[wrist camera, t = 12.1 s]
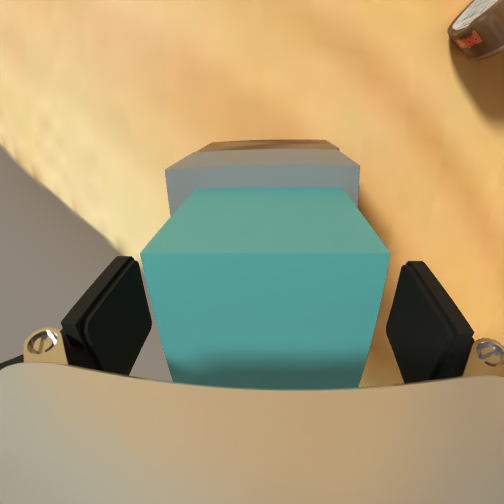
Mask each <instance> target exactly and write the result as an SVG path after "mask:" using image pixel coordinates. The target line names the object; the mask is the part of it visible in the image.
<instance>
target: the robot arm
mask: <svg viewBox="0 0 504 504" xmlns="http://www.w3.org/2000/svg"><path fill="white" fill-rule="evenodd" d="M61 324H62V327H63V329H62V330H61V331H58V330H57V329H55V328H43V329H40V330H38V331H35V332H34V333H33V334H31V335H30V336H29V337H28V338H27V339H26V341H25V343H24V347H23V353H24V354H23V355H20V356H18V357H15V358H13V359H11V360H8V361H5V362H3V363H1V364H0V504H504V346H502V345H501V344H500V343H499V342H497V341H495V340H492V339H489V338H481V339H478V340H476V341H474V339H473V338H472V336H473V334H474V331H473V330H472V328H471V327H470V325H469V324H468V322H467V321H466V319H465V318H464V316H463V315H462V313H461V312H460V310H459V309H458V307H457V306H456V305H455V303H454V302H453V300H452V299H451V298H450V296H449V295H448V293H447V292H446V291H445V289H444V288H443V287H442V285H441V284H440V282H439V281H438V280H437V278H436V277H435V276H434V275H433V273H432V272H431V271H430V269H429V268H428V267H427V265H426V264H425V263H424V262H423V261H408V262H407V263H406V265H403V266H402V268H401V271H400V276H399V280H398V284H397V288H396V292H395V296H394V300H393V304H392V308H391V311H390V315H389V319H388V322H387V326H386V333H387V336H388V339H389V342H390V344H391V347H392V350H393V352H394V355H395V358H396V361H397V363H398V366H399V369H400V372H401V375H402V377H403V380H404V384H394V385H383V386H371V387H355V388H334V389H259V388H237V387H222V386H209V385H197V384H187V383H178V382H169V381H161V380H154V379H147V378H140V377H134V376H129V373H130V372H131V369H132V367H133V365H134V363H135V361H136V359H137V357H138V355H139V352H140V350H141V348H142V346H143V344H144V342H145V340H146V338H147V336H148V334H149V332H150V330H151V326H152V320H151V316H150V312H149V308H148V303H147V299H146V295H145V291H144V286H143V281H142V277H141V272H140V267H139V263H138V261H135V260H134V258H133V257H130V256H117V257H116V258H115V259H114V260H113V261H112V262H111V263H110V265H109V266H108V267H107V268H106V269H105V270H104V271H103V272H102V274H101V275H100V276H99V277H98V278H97V279H96V280H95V282H94V283H93V284H92V285H91V286H90V287H89V289H88V290H87V291H86V292H85V293H84V294H83V296H82V297H81V298H80V299H79V301H78V302H77V303H76V304H75V305H74V306H73V308H72V309H71V310H70V312H69V313H68V314H67V315H66V316H65V318H64V319H63V320H62V322H61Z"/></svg>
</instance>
